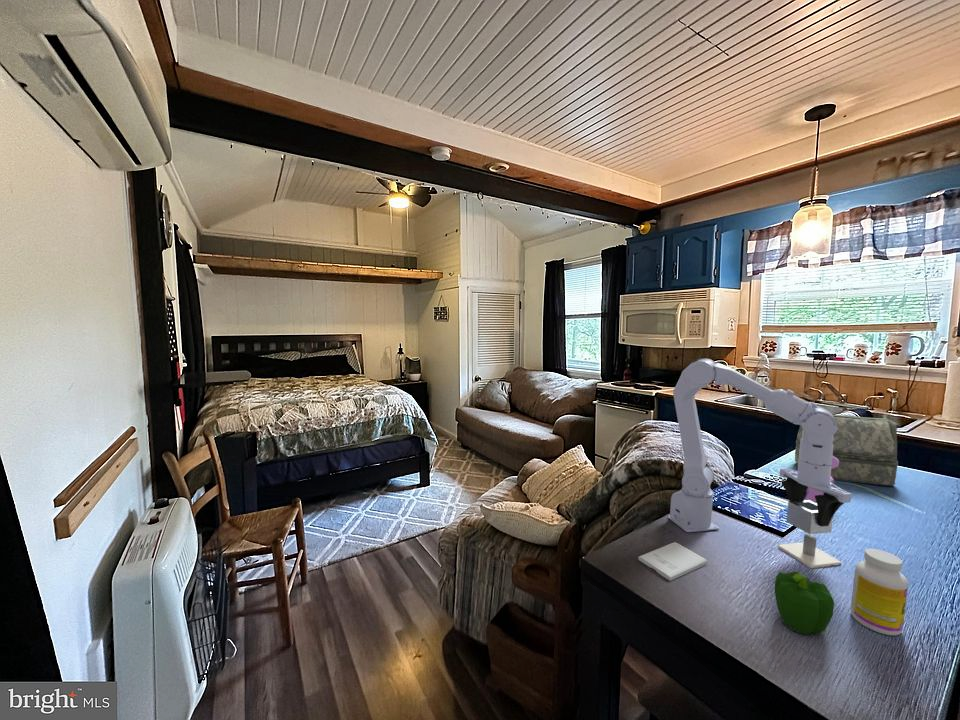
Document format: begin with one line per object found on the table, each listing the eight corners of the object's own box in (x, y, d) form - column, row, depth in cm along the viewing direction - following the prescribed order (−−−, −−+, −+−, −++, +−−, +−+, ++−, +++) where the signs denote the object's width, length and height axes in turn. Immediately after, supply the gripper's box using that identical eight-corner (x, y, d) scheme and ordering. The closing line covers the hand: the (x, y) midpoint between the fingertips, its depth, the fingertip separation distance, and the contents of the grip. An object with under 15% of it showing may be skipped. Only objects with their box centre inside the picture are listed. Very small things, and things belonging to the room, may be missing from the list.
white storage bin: (810, 534, 87) (812, 513, 86) (786, 521, 92) (788, 501, 92) (831, 532, 88) (833, 511, 87) (806, 519, 93) (808, 499, 93)
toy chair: (830, 495, 122) (835, 448, 120) (836, 506, 115) (842, 457, 113) (796, 489, 126) (800, 444, 125) (800, 499, 119) (805, 452, 117)
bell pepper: (801, 606, 75) (806, 557, 73) (843, 642, 66) (849, 587, 65) (759, 607, 74) (763, 558, 73) (795, 643, 66) (800, 588, 65)
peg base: (811, 568, 86) (813, 548, 86) (777, 547, 94) (779, 529, 93) (841, 564, 87) (843, 545, 87) (806, 544, 95) (807, 526, 95)
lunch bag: (802, 477, 136) (808, 416, 133) (786, 460, 152) (792, 405, 150) (904, 491, 125) (912, 425, 123) (875, 471, 142) (882, 412, 139)
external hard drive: (706, 566, 87) (669, 583, 82) (673, 547, 95) (637, 561, 89) (707, 559, 87) (670, 576, 82) (674, 541, 94) (638, 555, 89)
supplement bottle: (908, 643, 66) (918, 572, 65) (855, 627, 70) (863, 559, 68) (894, 618, 72) (902, 552, 70) (845, 604, 75) (852, 541, 74)
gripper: (865, 472, 82) (859, 533, 83) (798, 449, 96) (794, 502, 98) (837, 474, 81) (831, 536, 82) (774, 451, 95) (769, 504, 96)
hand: (809, 518), depth 90 cm, fingers closed on white storage bin, 6 cm apart
